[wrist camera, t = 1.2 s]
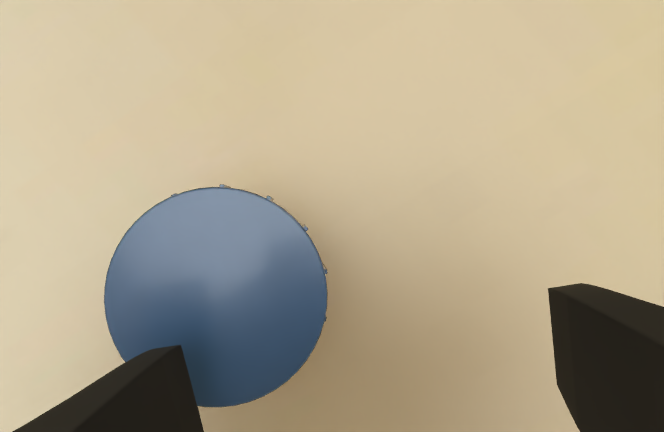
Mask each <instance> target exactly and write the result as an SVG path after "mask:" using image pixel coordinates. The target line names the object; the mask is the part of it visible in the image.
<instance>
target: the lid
mask: <svg viewBox="0 0 664 432" xmlns="http://www.w3.org/2000/svg"><path fill="white" fill-rule="evenodd" d="M171 196H172V197H169V198H167V199H166V200H164V201H162V202H160V203H158V204H156V205H155V206H154V207H152V208H151V209H149V210H148V211H147V212H145V213H144V214H143V215H142V216H141V217H140V218H139V219H138V220H137V221H135V222H134V224H133V225H132V226H131V227H130V228H129V230H128V231H127V232H126V233H125V235H124V236H123V238H122V239H121V241H120V243H119V244H118V246H117V248H116V250H115V252H114V255H113V257H112V259H111V262H110V265H109V268H108V272H107V276H106V283H105V293H104V305H105V314H106V320H107V324H108V328H109V332H110V334H111V337H112V339H113V342H114V344H115V346H116V348H117V350H118V352H119V353H120V355H121V357H122V358H123V360H124V361H125V362H127V361H129V360H130V359H132V358H134V357H136V356H138V355H139V354H141V353H143V352H146V351H148V350H151V349H155V348H162V347H168V346H175V345H181V347H182V350H183V354H184V358H185V362H186V365H187V369H188V373H189V377H190V381H191V384H192V388H193V392H194V396H195V400H196V403H197V406H202V407H227V406H235V405H239V404H243V403H247V402H251V401H253V400H256V399H258V398H261V397H263V396H265V395H267V394H269V393H271V392H272V391H274V390H276V389H277V388H279V387H280V386H281V385H283V384H284V383H285V382H287V381H288V380H289V379H290V378H291V377H292V376H293V375H294V374H295V373H296V372H297V371H298V370H299V369H300V368H301V367H302V365H303V364H304V363H305V362H306V360H307V359H308V358H309V356H310V354H311V353H312V351H313V349H314V348H315V346H316V343H317V341H318V339H319V337H320V334H321V331H322V328H323V324H324V321H326V318H327V317H326V309H327V284H326V277H325V274H327V269H326V268H325V266H324V264H323V263H322V261H321V259H320V256H319V254H318V251H317V249H316V247H315V245H314V244H313V242H312V240H311V238H310V237H309V235H308V234H307V233H306V231H307V230H308V228H307V227H306V226H305V225H302V226H301V225H300V223H299V222H298V221H297V220H296V219H295V218H294V217H293V216H292V215H291V214H289V213H288V212H287V211H286V210H285V209H283V208H282V207H280V206H279V205H277V204H275V203H274V202H272V201H273V198H272V197H270V196H267V198H264V197H261V196H259V195H257V194H254V193H251V192H247V191H244V190H240V189H234V188H231V187H229V186H226V185H220V187H209V188H198V189H194V190H190V191H185V192H182V193H180V194H173V195H171Z"/></svg>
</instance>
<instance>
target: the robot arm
mask: <svg viewBox="0 0 664 432" xmlns="http://www.w3.org/2000/svg"><path fill="white" fill-rule="evenodd" d="M548 292H549V303H550V314H551V324H552V335H553V346H554V357H555V368H556V379H557V385H558V388H559V390H560V392H561V394H562V396H563V398H564V400H565V403H566V405H567V407H568V409H569V411H570V413H571V415H572V417H573V419H574V421H575V423H576V425H577V427H578V429H579V430H580V432H664V307H662V306H659V305H655V304H652V303H649V302H646V301H643V300H640V299H636V298H633V297H630V296H627V295H624V294H621V293H618V292H614V291H611V290H608V289H604V288H601V287H597V286H593V285H589V284H582V283H580V284H574V285H567V286H561V287H554V288H548ZM13 432H204V430H203V426H202V422H201V418H200V415H199V411H198V407H197V403H196V400H195V396H194V392H193V388H192V384H191V381H190V377H189V373H188V369H187V365H186V362H185V358H184V354H183V350H182V347H181V345H175V346H168V347H162V348H155V349H151V350H148V351H146V352H143V353H141V354H139V355H138V356H136V357H134V358H132V359H130V360H129V361H127V362H125V363H124V364H122V365H120V366H119V367H117V368H116V369H114V370H112V371H111V372H109V373H108V374H106V375H105V376H103V377H101V378H100V379H98V380H97V381H95V382H94V383H92V384H91V385H89V386H87V387H86V388H84V389H83V390H81V391H80V392H78V393H77V394H75V395H73V396H72V397H70V398H69V399H67V400H65V401H64V402H62V403H60V404H59V405H57V406H55V407H54V408H52V409H50V410H49V411H47V412H45V413H44V414H42V415H40V416H39V417H37V418H35V419H34V420H32V421H30V422H29V423H27V424H25V425H24V426H22V427H20V428H18V429H16V430H15V431H13Z"/></svg>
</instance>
